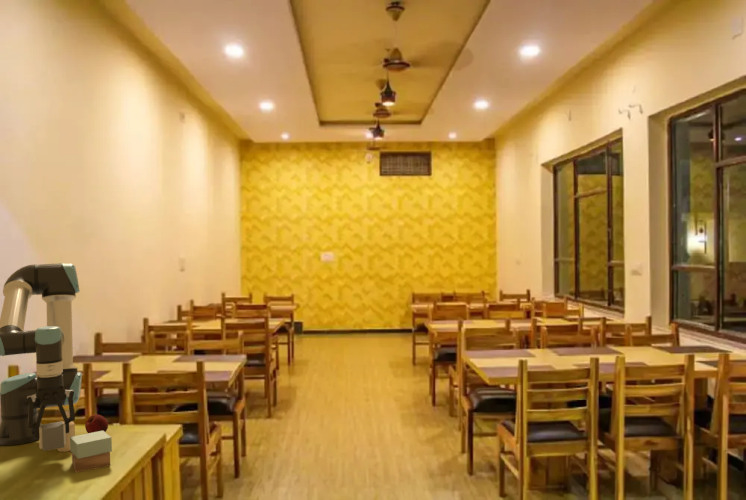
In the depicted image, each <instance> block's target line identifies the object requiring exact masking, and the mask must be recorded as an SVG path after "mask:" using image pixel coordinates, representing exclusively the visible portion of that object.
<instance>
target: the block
mask: <svg viewBox="0 0 746 500" xmlns="http://www.w3.org/2000/svg"><path fill="white" fill-rule="evenodd" d="M62 421H63V420H60V421H56V422H50V423H43V424H42V423H41V427H42V444H43V449H42V452H46V451H52V450H56V449H57V450H58V448H64V432H63V424H62Z"/></svg>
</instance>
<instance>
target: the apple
mask: <svg viewBox="0 0 746 500" xmlns="http://www.w3.org/2000/svg"><path fill="white" fill-rule="evenodd" d="M84 427H85V431H86V432H87V433H86V434H88V433H93V432H98V431H104V432H105V433H107V431H108V428H109V421H108V420H107V419H106V417H104V416H103V415H101V414H92V415H90V416H89V417H88V418H87V420H86V422H85V425H84Z"/></svg>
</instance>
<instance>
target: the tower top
mask: <svg viewBox="0 0 746 500" xmlns="http://www.w3.org/2000/svg"><path fill="white" fill-rule="evenodd" d="M69 452H71V454H72V453H73V454H74V455H75V456H76V458H77V459H79V458H84V457H89V456H93V455H98V454H102V453H107V452H110V453H111V452H113V447H112V436H111V435H110V434H108V433H107V432H104V431H98V432H93V433H83V434H80V435H79V434H78V435H75V436H72V437H70V451H69Z"/></svg>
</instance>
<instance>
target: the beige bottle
mask: <svg viewBox="0 0 746 500" xmlns="http://www.w3.org/2000/svg"><path fill="white" fill-rule="evenodd" d="M61 421H62V423H64V420H61ZM75 428H76V426H75V422H74V421H71V422H70V423H69V433H66V444H65V445H64V448H58V449H57V451H58V452H60V453H65V452H71V451H70V437H72V436H76V431H75V430H76V429H75Z"/></svg>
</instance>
